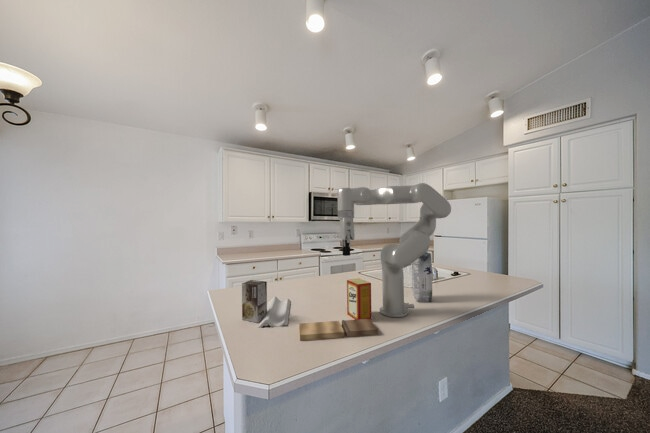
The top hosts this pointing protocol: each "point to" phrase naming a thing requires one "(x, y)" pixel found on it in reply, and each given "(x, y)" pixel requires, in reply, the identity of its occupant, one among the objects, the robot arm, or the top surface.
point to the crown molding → (276, 313)
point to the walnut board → (359, 327)
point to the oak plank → (320, 330)
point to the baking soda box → (359, 299)
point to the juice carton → (422, 278)
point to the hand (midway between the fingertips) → (346, 255)
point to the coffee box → (254, 300)
